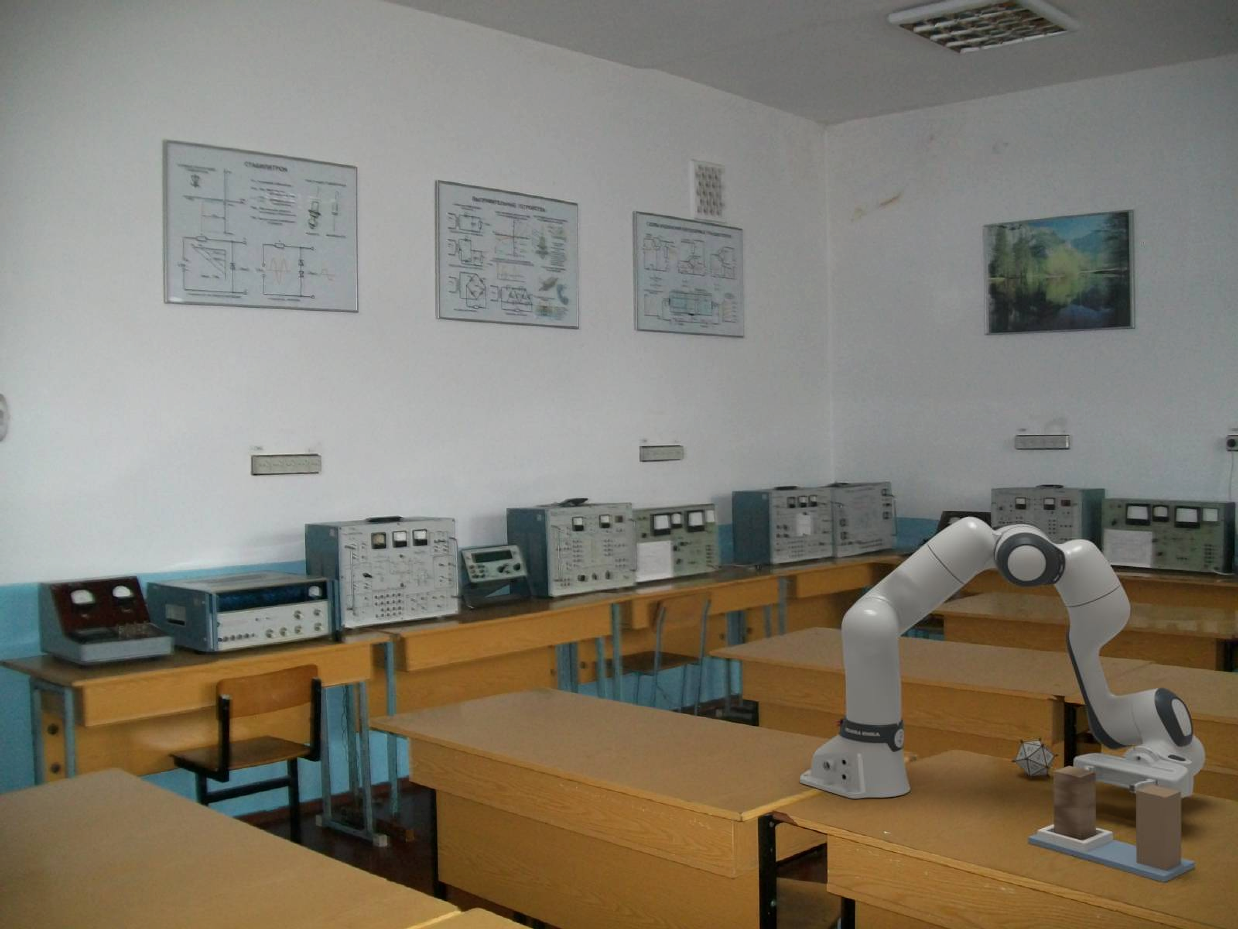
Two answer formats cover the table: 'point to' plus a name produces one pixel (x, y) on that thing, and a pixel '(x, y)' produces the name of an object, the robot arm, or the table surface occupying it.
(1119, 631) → the robot arm
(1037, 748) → the game die
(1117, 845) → the baseplate
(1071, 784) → the pillar
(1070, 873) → the table surface
